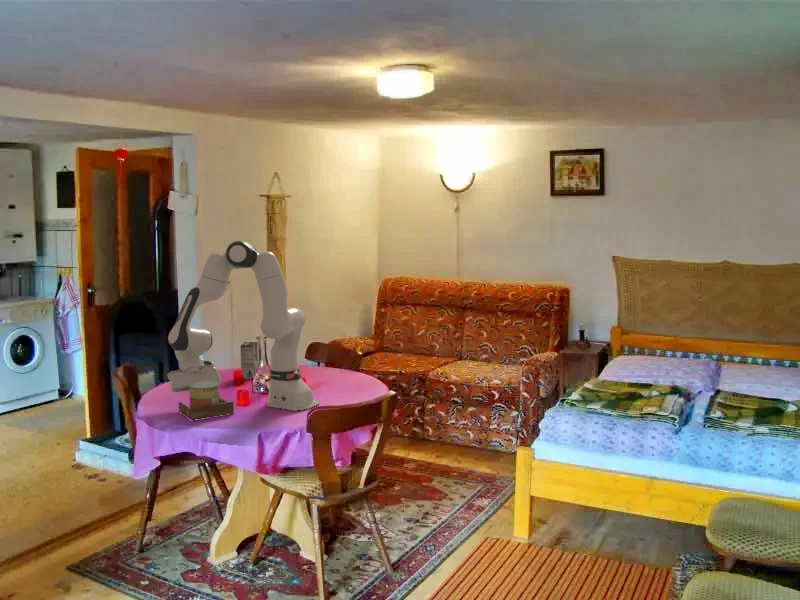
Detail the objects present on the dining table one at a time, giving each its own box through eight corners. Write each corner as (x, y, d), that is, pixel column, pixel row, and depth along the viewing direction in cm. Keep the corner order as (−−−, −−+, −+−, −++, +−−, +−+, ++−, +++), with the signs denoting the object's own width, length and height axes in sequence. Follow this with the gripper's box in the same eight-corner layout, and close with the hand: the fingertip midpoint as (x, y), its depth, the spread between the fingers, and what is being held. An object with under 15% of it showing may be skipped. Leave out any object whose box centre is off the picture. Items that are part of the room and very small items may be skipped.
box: (179, 412, 302) (178, 400, 301) (220, 405, 312) (219, 394, 311) (191, 421, 290) (191, 408, 290) (233, 414, 300) (233, 402, 299)
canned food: (212, 418, 294) (211, 388, 292) (185, 417, 296) (183, 387, 294) (224, 410, 305) (223, 381, 303) (198, 409, 307) (196, 380, 305)
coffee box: (245, 374, 366) (244, 341, 363) (258, 374, 365) (257, 341, 363) (241, 379, 356) (240, 345, 354) (254, 379, 356) (253, 345, 354)
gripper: (167, 367, 304) (176, 396, 297) (216, 361, 315) (226, 389, 308) (164, 376, 308) (173, 405, 301) (213, 369, 319) (222, 397, 313)
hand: (200, 397), depth 305 cm, fingers closed
